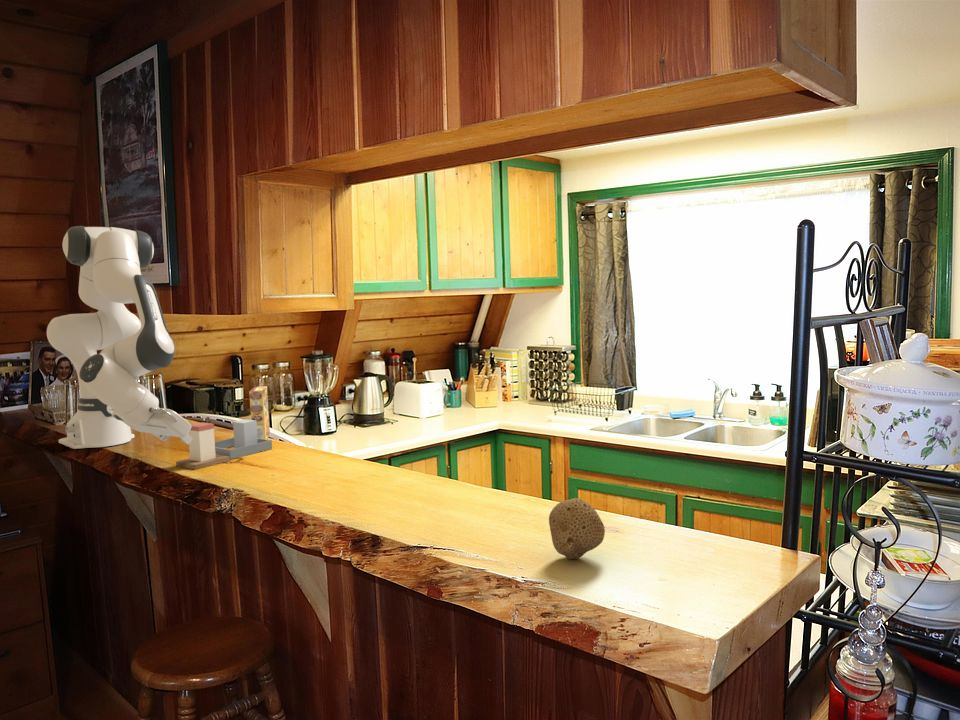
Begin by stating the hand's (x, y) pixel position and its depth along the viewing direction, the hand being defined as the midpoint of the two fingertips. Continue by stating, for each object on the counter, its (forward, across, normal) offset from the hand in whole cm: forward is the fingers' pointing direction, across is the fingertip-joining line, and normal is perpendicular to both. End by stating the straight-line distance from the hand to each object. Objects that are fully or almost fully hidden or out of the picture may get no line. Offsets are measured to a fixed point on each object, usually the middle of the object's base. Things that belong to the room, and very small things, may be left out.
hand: (177, 440), depth 194 cm
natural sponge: (+2, -115, +11) cm, 115 cm away
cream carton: (+10, 0, -1) cm, 10 cm away
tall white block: (+23, +4, -12) cm, 26 cm away
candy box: (+31, +12, -20) cm, 39 cm away
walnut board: (+10, 0, 0) cm, 11 cm away
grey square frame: (+20, +4, -10) cm, 23 cm away
